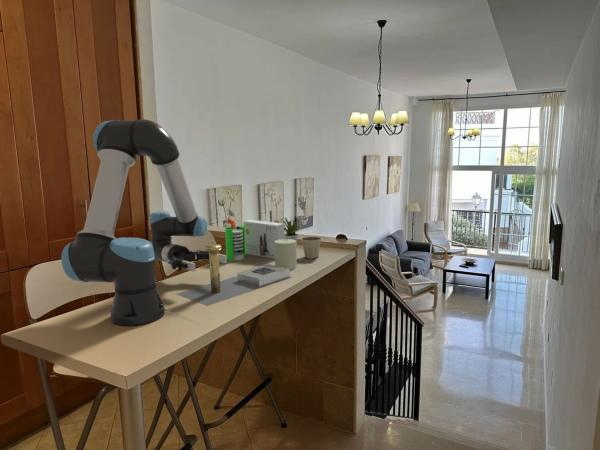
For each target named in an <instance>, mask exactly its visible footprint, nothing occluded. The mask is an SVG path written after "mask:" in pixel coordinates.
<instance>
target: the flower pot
mask: <svg viewBox="0 0 600 450" xmlns="http://www.w3.org/2000/svg"><path fill="white" fill-rule="evenodd" d="M300 240H301V243H302V247H303V253H304V258H306V259H309V258H310V259H315V258H316V259H317V258H319V255H320V254H319V253H320V246H321V242H322V237H319V236H304V237H301V238H300Z"/></svg>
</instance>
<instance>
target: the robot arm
mask: <svg viewBox="0 0 600 450" xmlns="http://www.w3.org/2000/svg"><path fill="white" fill-rule="evenodd" d="M92 135H93V137H92V141H93V147H94V150H95V151H96V153H97V157H98V159H99V160H100V164H99V167H98V170H97V174H96V175H97V176H96V179H95V182H94V183H95V184H94V187H93V191H92V195H91V199H90V203H89V208H88V211H87V215H86V218H85V223H84V227H83V229H82V230H80V231H78V232H77V233H76V235H75V238H74V239H75V240H74V241H72V242H69V243H67V244H66V245H65V246H64V248H63V249H62V252H61V266H62V269H63V271H64V273H65V275H66V276H67V277H68V278H69V279H71V280H73V281H77V282H83V283H89V282H94V283H113V284H114V285H113V286H114V297H113V302H112V306H111V311H110V321H111V322H112V323H113V324H115V325H118V326H124V327H125V326H127V327H128V326H129V327H132V326H139V325H140V326H141V325H145V324H148V323H149V324H150V323H152V322H155V321H157V320H159V319H161V318H162V317H163V316H164V315H165V311H166V310H165V304H164V302H163V300H162V298H161V296H160V293H159V291H158V288H157V274H156V261H161V262H165V263H167V264H169V265H170V266H171V269H172V270H178V271H179V272H180V271H182V269H183V270H185V271H186V270H187V271H191V272H196V263H194V262H199V261H209V251H206V250H201V249H198V250H196V251H192V250H190V249H189V248H188V247H186V246H185V245H181V244H176V243H173V242H172V237H193V238H195V237H203V236H205V235H206V234H207V231H208V221H207V219H206V218H205V217H204V216H199V215H198V213H197V210H196V208H195V203H194V202H193V198H192V195H191V193H190V190H189V187H188V184H187V182H186V179H185V175H184V173H183V170H182V167H181V164H180V161H179V157H180V152H179V149H178V146H177V144H176V143H175V140H174V139H173V137H172V136H171V135H170V134H169V132H168V131H167V130H166V129H165V128H164V127H162V125H160V124H158V123H157V122H155V121H152V120H150V119H144V118H143V119H140V118H139V119H128V120H118V119H111V120H108V121H102V122H101V123H100V124H97V126H96V128H95V130H94V132H93V134H92ZM138 156H139V157H140V156H141V157H143V156H146V157H148V158H149V159H150V161H151V164H152V165H154V166H156V168H157V170H158V173H159V176H160V179H161V181H162V183H163V186H164V189H165V191H166V194H167V196H168V199H169V201H170V204H171V206H172V209H173V211H174V214H175V216H171V213H170V211H168V210H167V211H166V210H160V211H153V212H151V213H150V215H149V220H150V221H149V226H150V234H151V237H150V238H151V241H149V240H147V239H144V238H140V237H130V236H129V237H118V238H117V237H116V236H115V230H116V226H117V222H118V218H119V213H120V210H121V209H120V208H121V205H122V199H123V196H124V191H125V187H126V182H127V178H128V173H129V169H130V168H131V167H133V166H134V165H135V164H136V161H137V157H138ZM219 263H222V264H227V263H228V260H227V256H226V254H221V252H220V251H219Z"/></svg>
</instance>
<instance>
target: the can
mask: <svg viewBox="0 0 600 450" xmlns="http://www.w3.org/2000/svg"><path fill="white" fill-rule="evenodd" d="M274 247H275V259H274V266H278V267H282V268H287V269H290V271H291V270H295V269H297V267H298V264H297V263H298V262H297V246H296V240H293V239H285V238H284V239H279V240H275V241H274Z"/></svg>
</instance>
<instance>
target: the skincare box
mask: <svg viewBox="0 0 600 450" xmlns="http://www.w3.org/2000/svg"><path fill="white" fill-rule="evenodd" d="M242 222H243V227H245V255H251V256H257V257H263V258H267V259H273V260H275V247H274V241H275V240H279V239H285V238H284V234H285V231H284V225H285V224H284V223H283V222H282V223H283V224H282V223H281V222H280V223H279V222H271V221H264V220H256V219H248V220H247V219H246V220H243V221H242Z"/></svg>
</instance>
